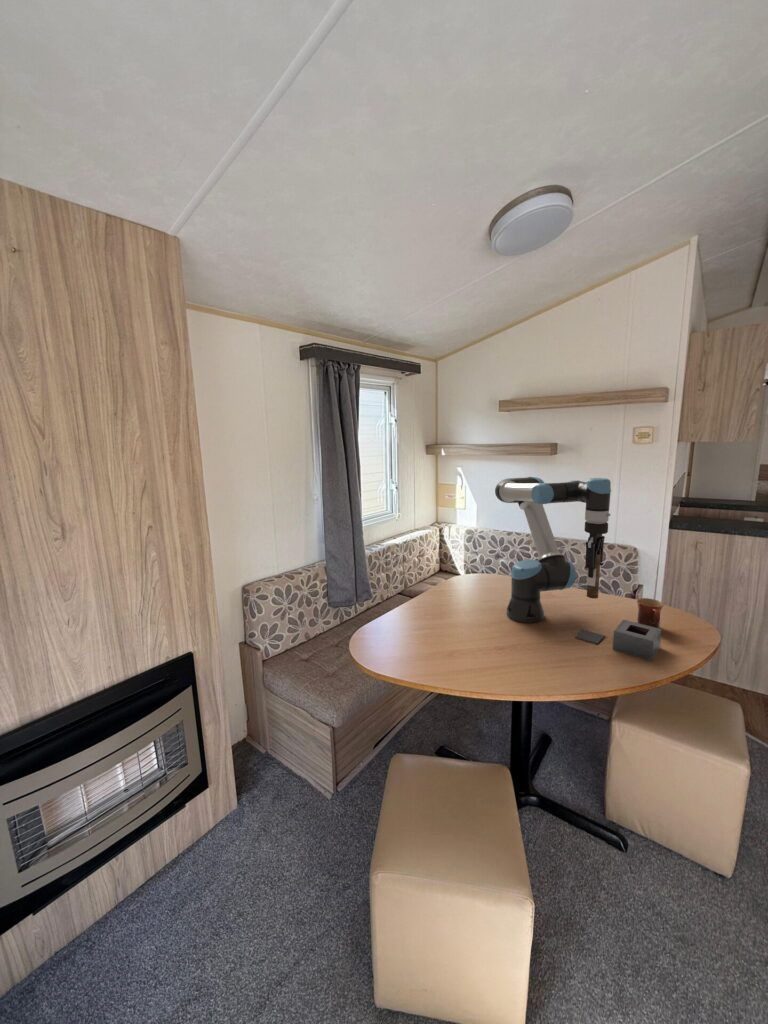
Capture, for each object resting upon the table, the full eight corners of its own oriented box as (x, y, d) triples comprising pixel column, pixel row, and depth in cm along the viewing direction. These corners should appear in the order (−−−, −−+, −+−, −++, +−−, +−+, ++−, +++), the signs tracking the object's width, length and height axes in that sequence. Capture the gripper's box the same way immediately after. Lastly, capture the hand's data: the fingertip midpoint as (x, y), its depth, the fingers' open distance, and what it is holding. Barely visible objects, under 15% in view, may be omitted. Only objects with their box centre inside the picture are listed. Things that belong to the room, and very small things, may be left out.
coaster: (574, 638, 156) (574, 636, 156) (582, 630, 161) (582, 629, 161) (597, 644, 150) (597, 643, 150) (604, 636, 156) (604, 635, 156)
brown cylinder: (585, 596, 153) (587, 555, 150) (588, 593, 155) (590, 552, 153) (596, 599, 150) (598, 557, 147) (599, 596, 153) (602, 554, 150)
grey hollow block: (612, 649, 147) (613, 630, 145) (622, 637, 155) (623, 619, 154) (651, 660, 138) (653, 641, 137) (659, 647, 147) (661, 629, 146)
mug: (631, 621, 168) (633, 597, 166) (655, 622, 166) (657, 598, 164) (643, 635, 156) (645, 609, 154) (669, 636, 154) (671, 610, 152)
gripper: (600, 526, 139) (596, 592, 143) (615, 518, 151) (610, 579, 155) (577, 524, 144) (574, 587, 149) (593, 516, 156) (589, 575, 160)
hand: (592, 583), depth 152 cm, fingers closed on brown cylinder, 4 cm apart
